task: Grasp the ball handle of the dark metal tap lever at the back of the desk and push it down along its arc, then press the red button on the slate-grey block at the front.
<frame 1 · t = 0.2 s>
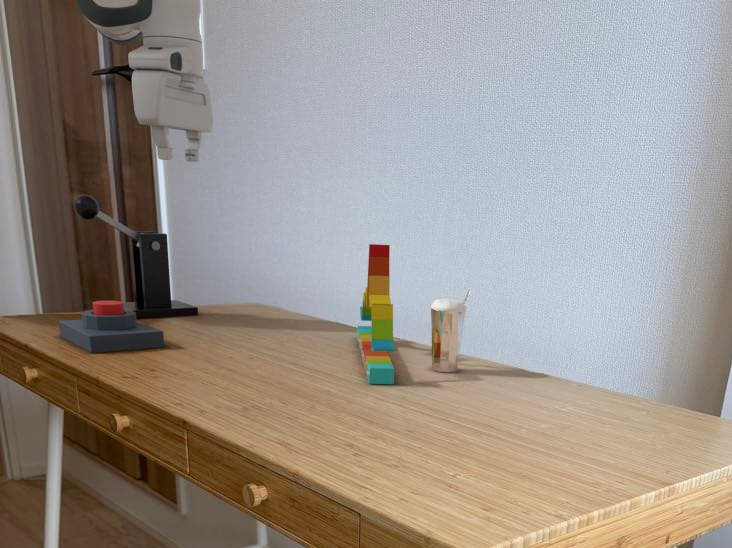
hand: (179, 160, 134), 24 cm above the table, tool pointing down, fingers open, 8 cm apart
chart: (372, 360, 114), on the table
milkshake: (447, 371, 109), on the table
button block: (111, 341, 116), on the table
black lever stand: (153, 313, 141), on the table
tap lever: (117, 225, 132), point 14 cm above the table, hinge at 30.0°
button: (108, 309, 114), point 4 cm above the table, slide at 0.1 cm
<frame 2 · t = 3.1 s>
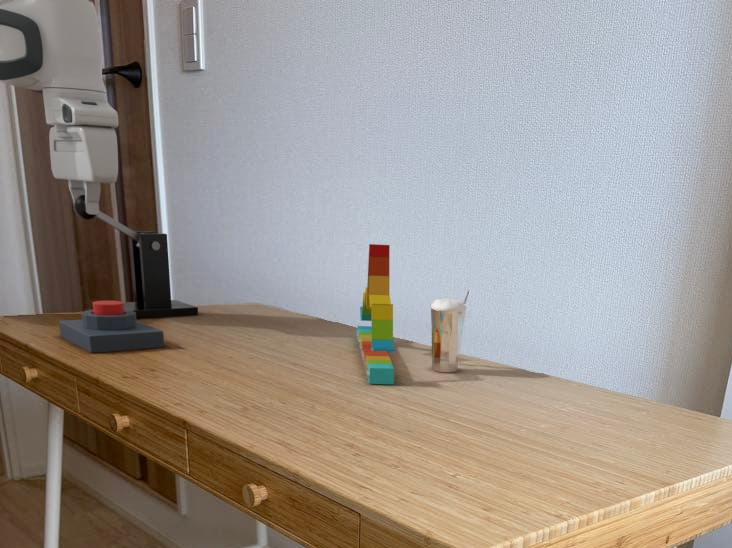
hand: (87, 213, 129), 16 cm above the table, tool pointing down, fingers closed on tap lever, 3 cm apart
tap lever: (117, 225, 132), point 14 cm above the table, hinge at 30.0°, touching gripper
everything else where it was.
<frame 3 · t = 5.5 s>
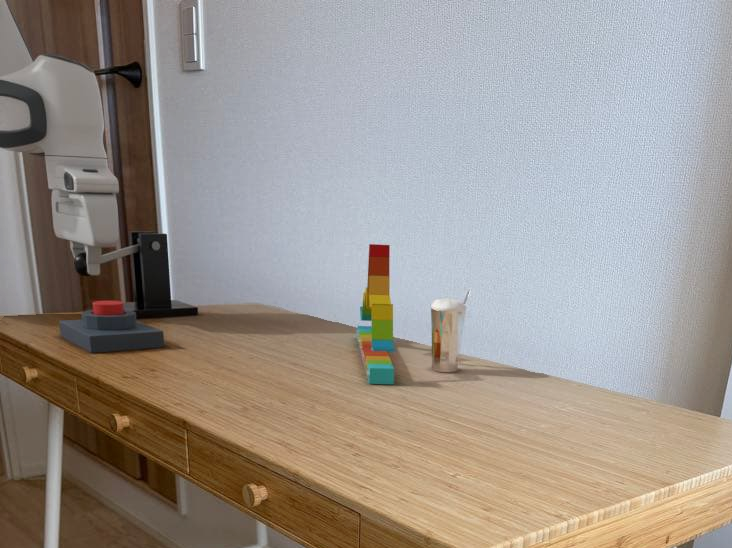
hand: (88, 273, 132), 7 cm above the table, tool pointing down, fingers closed on tap lever, 3 cm apart
tap lever: (116, 254, 134), point 9 cm above the table, hinge at -15.6°, touching gripper
everything else where it was.
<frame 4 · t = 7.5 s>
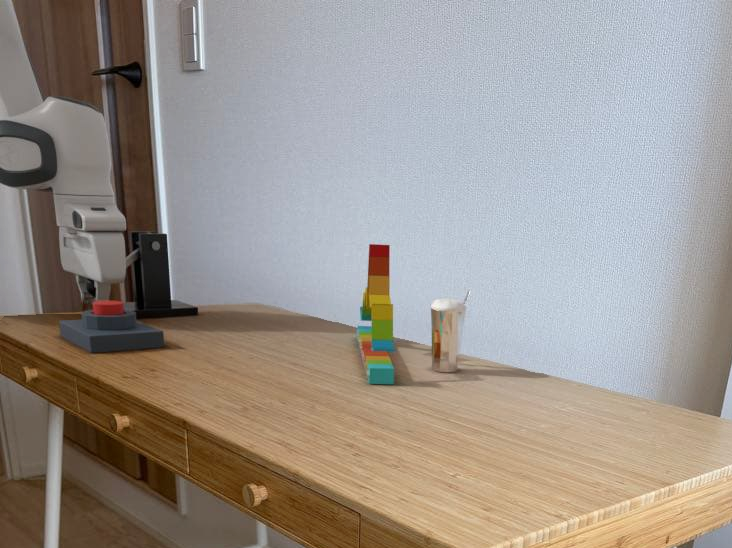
hand: (95, 306, 134), 2 cm above the table, tool pointing down, fingers open, 5 cm apart
tap lever: (122, 265, 135), point 8 cm above the table, hinge at -34.9°
everything else where it was.
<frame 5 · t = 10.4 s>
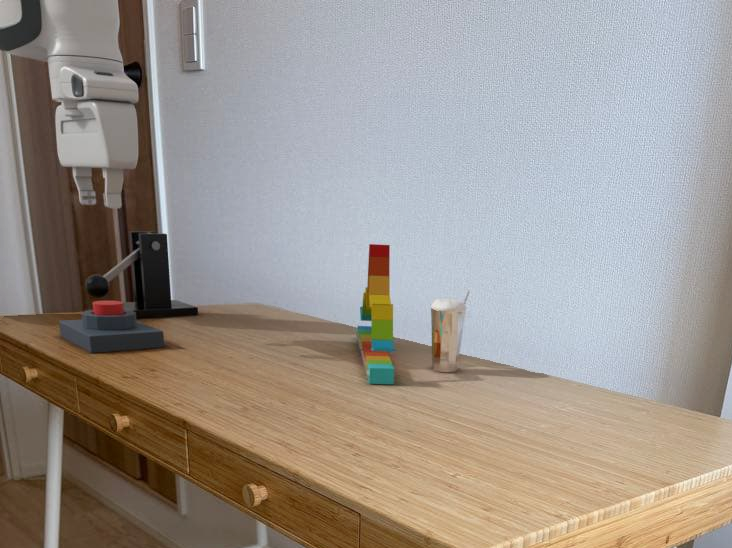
hand: (100, 206, 109), 18 cm above the table, tool pointing down, fingers open, 8 cm apart
nothing on the table moved.
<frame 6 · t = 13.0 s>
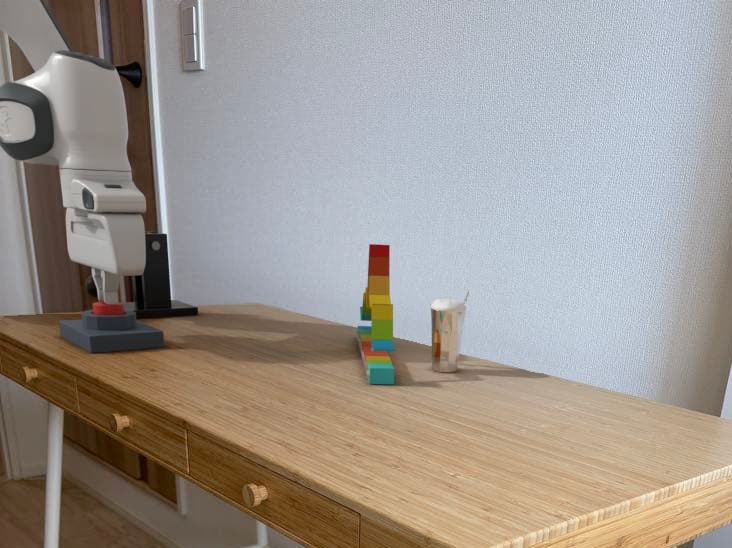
hand: (108, 303, 114), 5 cm above the table, tool pointing down, fingers closed, pressing on button
button: (108, 310, 114), point 4 cm above the table, slide at 0.0 cm, touching gripper
everything else where it was.
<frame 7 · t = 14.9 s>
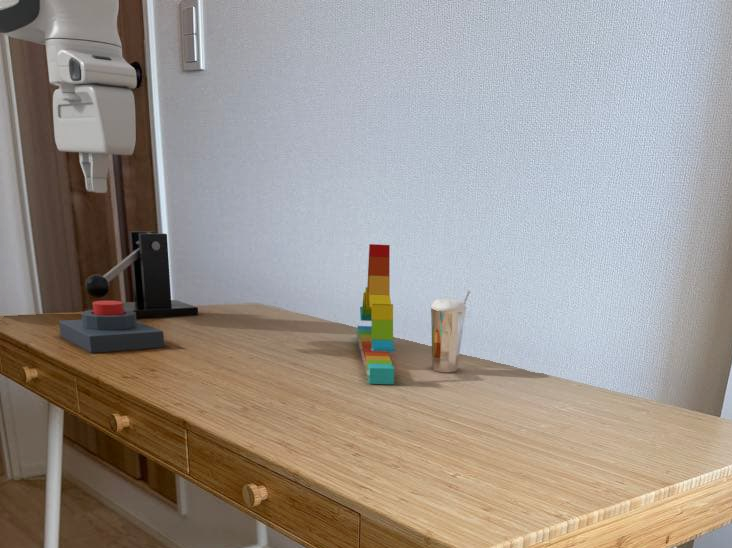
hand: (96, 192, 109), 19 cm above the table, tool pointing down, fingers closed
button: (108, 309, 114), point 4 cm above the table, slide at 0.1 cm
everything else where it was.
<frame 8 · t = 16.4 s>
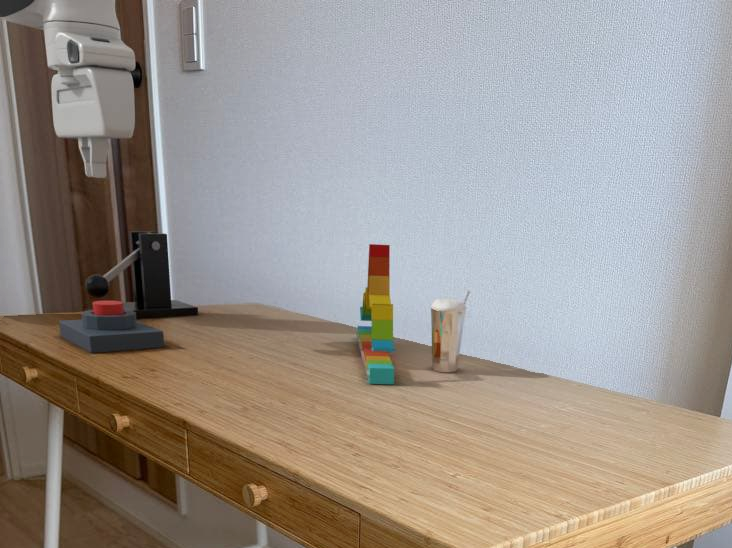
hand: (96, 177, 108), 21 cm above the table, tool pointing down, fingers closed
nothing on the table moved.
at the end: tap lever at -35° (first picture: +30°); button pushed in 1.0 cm at the most during the clip, back to where it started at the end; button slide at 0.1 cm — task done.
